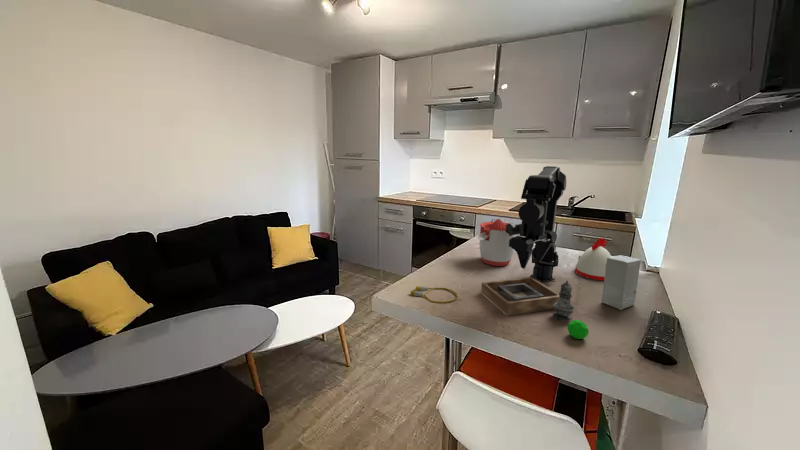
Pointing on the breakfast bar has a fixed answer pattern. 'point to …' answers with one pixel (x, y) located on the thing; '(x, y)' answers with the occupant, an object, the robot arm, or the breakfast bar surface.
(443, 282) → the breakfast bar surface
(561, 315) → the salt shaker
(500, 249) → the citrus juicer
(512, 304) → the walled box
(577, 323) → the polyhedron
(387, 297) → the breakfast bar surface
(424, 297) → the extension cord
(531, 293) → the inlet collar
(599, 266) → the white chicken dome
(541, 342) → the breakfast bar surface
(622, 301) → the skincare box
